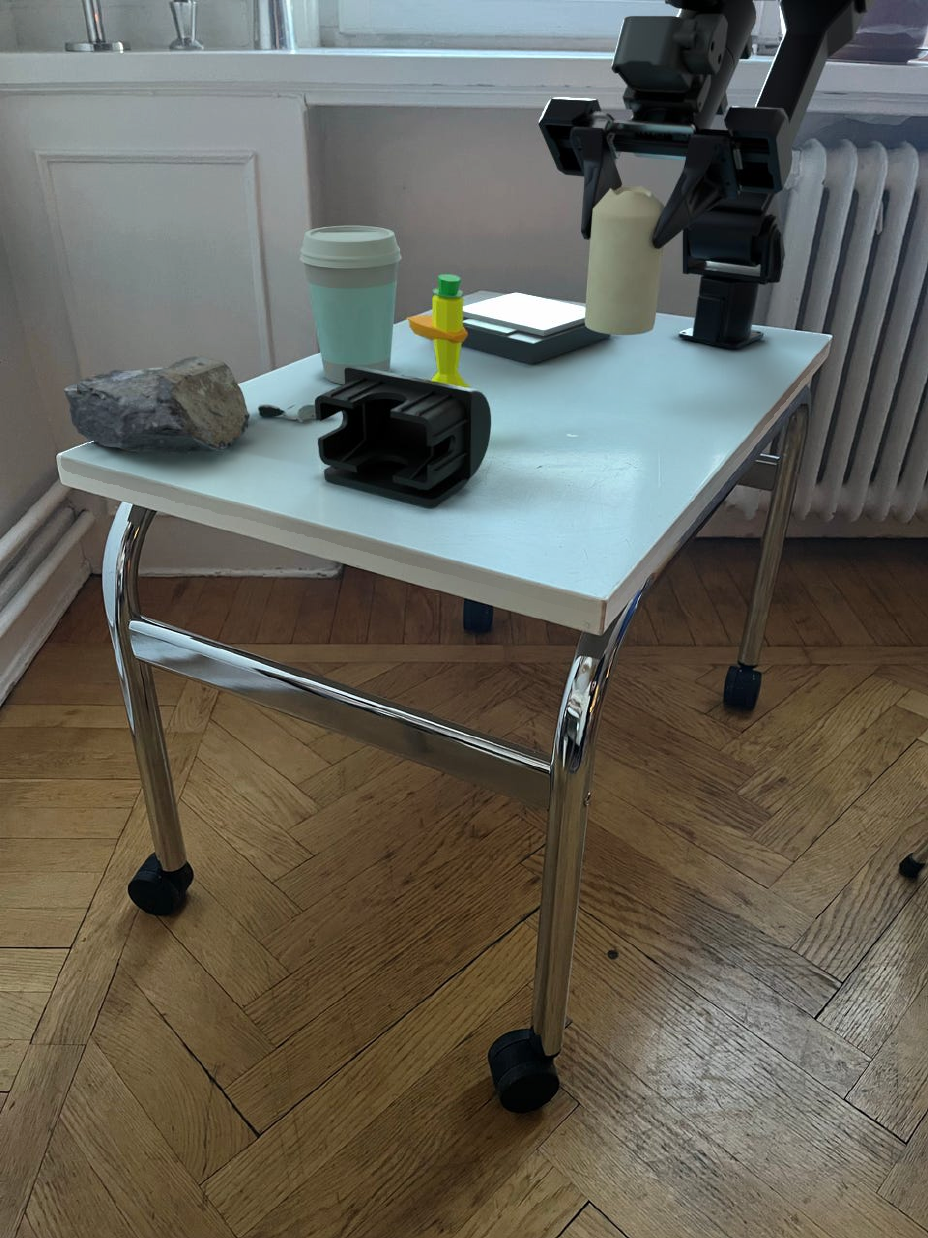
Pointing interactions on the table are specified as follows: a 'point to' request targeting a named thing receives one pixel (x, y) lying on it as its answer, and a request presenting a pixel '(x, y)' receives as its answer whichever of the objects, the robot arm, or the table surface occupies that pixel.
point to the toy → (275, 411)
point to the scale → (526, 327)
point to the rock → (161, 407)
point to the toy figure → (444, 329)
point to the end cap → (403, 435)
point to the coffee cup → (352, 295)
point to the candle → (624, 263)
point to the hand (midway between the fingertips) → (618, 240)
